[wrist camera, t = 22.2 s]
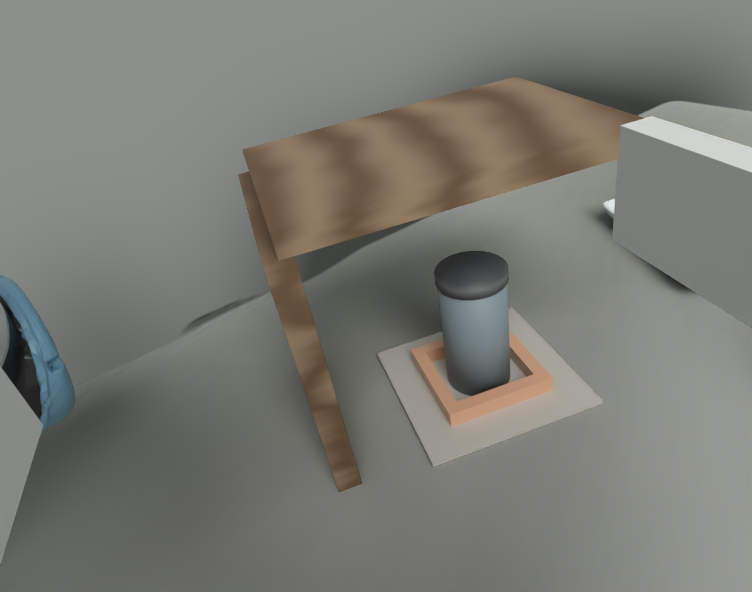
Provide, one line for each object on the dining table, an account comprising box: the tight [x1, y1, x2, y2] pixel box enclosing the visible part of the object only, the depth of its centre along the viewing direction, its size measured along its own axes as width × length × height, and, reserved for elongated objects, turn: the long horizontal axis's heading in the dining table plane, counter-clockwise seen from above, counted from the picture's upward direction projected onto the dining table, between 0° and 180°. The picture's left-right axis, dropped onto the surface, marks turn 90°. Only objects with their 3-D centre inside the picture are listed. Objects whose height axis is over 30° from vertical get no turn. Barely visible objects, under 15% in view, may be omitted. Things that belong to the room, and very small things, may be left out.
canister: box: [434, 251, 510, 396], centre depth 50 cm, size 6×6×12 cm
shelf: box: [238, 77, 644, 492], centre depth 48 cm, size 27×18×24 cm, turn 107°
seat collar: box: [377, 308, 603, 467], centre depth 53 cm, size 16×16×2 cm
